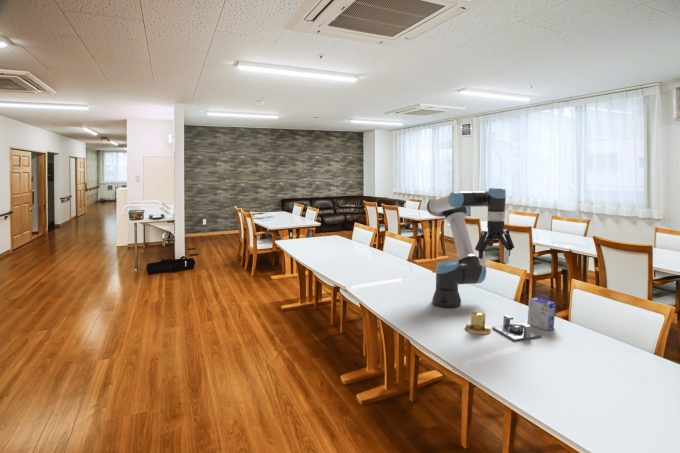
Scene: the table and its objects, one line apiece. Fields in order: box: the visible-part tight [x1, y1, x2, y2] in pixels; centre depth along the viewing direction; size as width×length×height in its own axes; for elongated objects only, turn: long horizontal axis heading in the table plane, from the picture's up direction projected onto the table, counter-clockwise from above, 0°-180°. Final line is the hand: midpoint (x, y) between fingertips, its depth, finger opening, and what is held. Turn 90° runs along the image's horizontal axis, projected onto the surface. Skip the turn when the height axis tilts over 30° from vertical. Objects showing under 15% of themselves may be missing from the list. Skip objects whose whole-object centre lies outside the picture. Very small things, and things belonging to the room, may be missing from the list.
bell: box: [465, 310, 491, 331], centre depth 172 cm, size 10×6×7 cm, turn 60°
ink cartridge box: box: [526, 293, 556, 331], centre depth 175 cm, size 10×6×14 cm, turn 32°
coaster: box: [464, 325, 492, 336], centre depth 173 cm, size 11×11×1 cm
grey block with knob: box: [491, 314, 543, 342], centre depth 169 cm, size 14×14×6 cm
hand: (494, 264), depth 184 cm, fingers open, 13 cm apart
